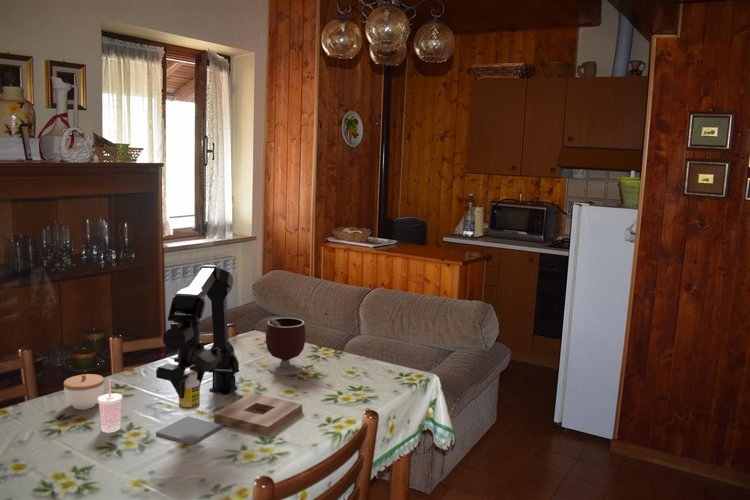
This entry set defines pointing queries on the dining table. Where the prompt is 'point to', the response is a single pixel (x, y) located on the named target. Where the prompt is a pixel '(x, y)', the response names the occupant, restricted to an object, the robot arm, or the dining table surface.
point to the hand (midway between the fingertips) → (189, 394)
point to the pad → (188, 430)
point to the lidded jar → (83, 390)
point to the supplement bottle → (190, 392)
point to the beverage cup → (110, 411)
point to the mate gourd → (285, 344)
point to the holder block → (265, 424)
